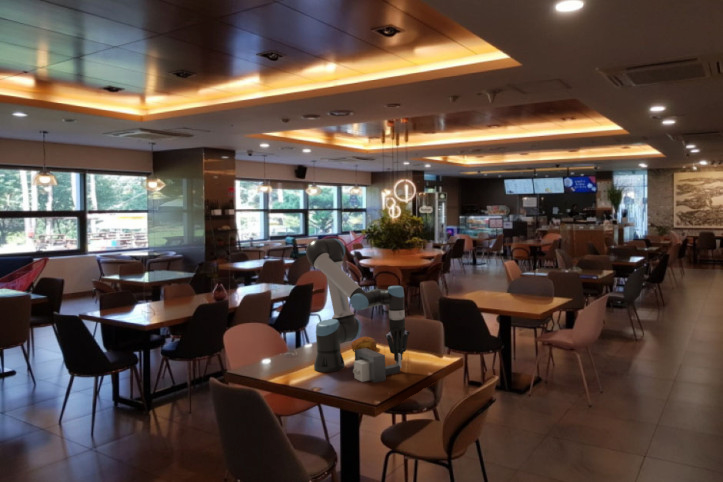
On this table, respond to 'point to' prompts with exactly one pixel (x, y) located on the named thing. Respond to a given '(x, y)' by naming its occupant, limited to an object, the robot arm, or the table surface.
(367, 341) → the golden lumpy mound
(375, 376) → the cable tunnel
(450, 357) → the table surface
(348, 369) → the table surface
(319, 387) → the table surface
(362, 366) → the plug
